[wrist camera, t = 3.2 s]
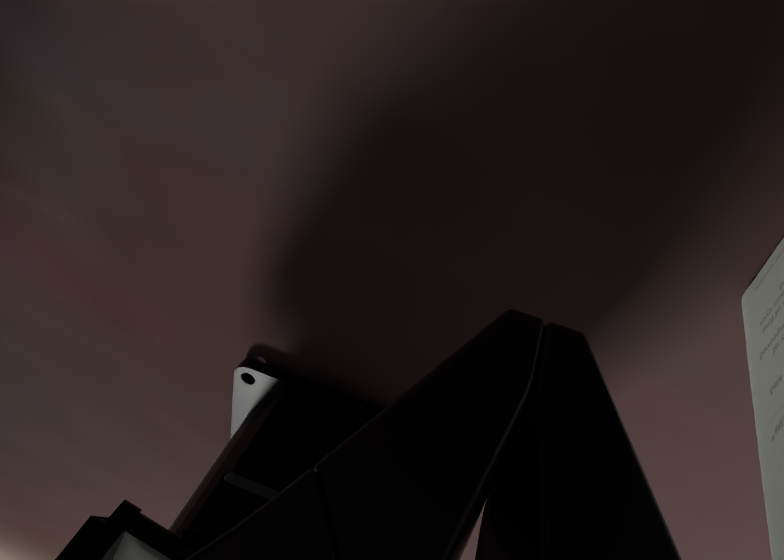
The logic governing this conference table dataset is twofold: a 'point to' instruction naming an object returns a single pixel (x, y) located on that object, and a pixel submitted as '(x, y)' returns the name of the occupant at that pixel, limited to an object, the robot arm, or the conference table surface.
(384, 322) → the conference table surface
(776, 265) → the small box
